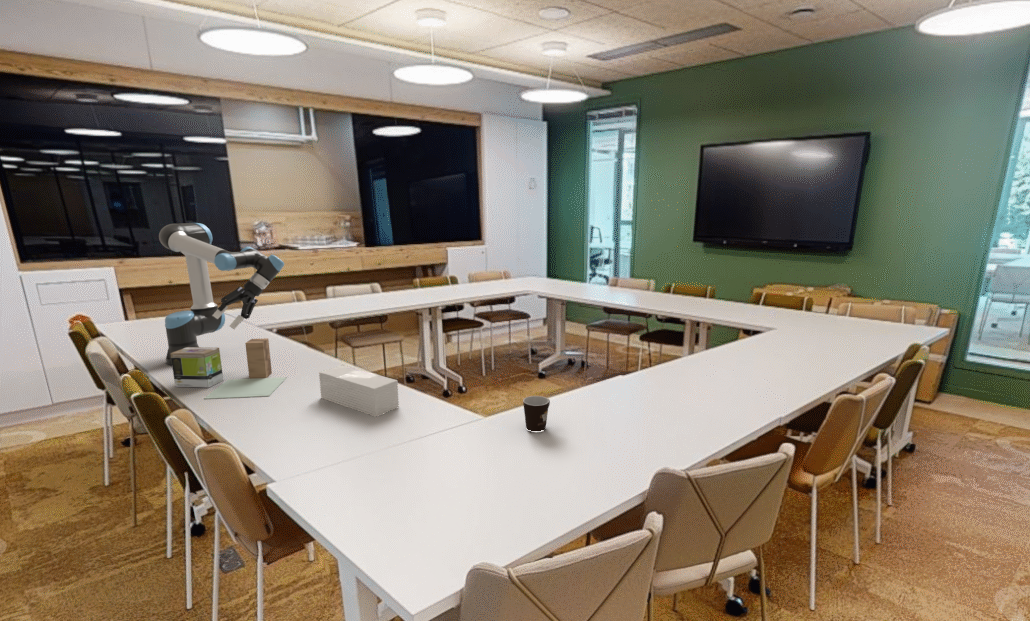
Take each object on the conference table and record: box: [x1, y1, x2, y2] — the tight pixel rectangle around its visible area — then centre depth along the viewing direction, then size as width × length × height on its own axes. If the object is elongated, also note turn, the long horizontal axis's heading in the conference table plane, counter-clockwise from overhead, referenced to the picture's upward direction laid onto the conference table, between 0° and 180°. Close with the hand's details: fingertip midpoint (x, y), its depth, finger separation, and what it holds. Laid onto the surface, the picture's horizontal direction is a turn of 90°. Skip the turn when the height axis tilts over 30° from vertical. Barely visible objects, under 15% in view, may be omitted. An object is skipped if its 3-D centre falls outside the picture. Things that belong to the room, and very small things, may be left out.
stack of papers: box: [318, 364, 400, 417], centre depth 195 cm, size 32×11×11 cm, turn 55°
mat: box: [203, 376, 288, 400], centre depth 212 cm, size 22×24×1 cm
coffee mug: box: [522, 395, 551, 431], centre depth 173 cm, size 12×9×10 cm
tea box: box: [170, 346, 224, 389], centre depth 216 cm, size 15×10×15 cm, turn 84°
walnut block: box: [245, 337, 273, 379], centre depth 225 cm, size 7×7×16 cm
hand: (223, 322), depth 228 cm, fingers open, 13 cm apart
